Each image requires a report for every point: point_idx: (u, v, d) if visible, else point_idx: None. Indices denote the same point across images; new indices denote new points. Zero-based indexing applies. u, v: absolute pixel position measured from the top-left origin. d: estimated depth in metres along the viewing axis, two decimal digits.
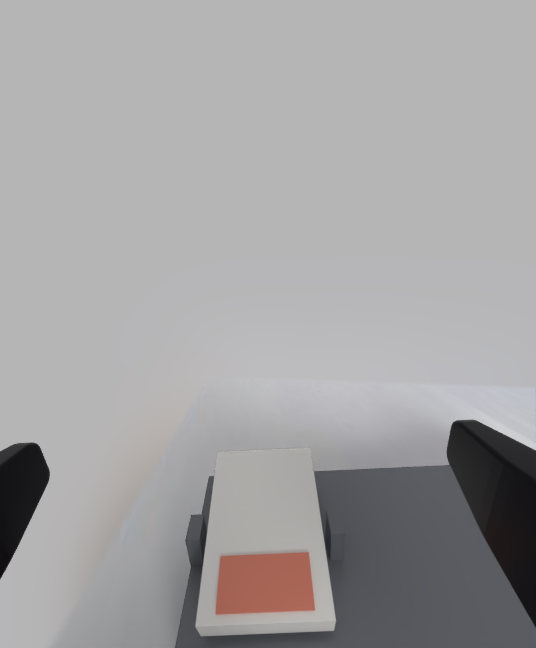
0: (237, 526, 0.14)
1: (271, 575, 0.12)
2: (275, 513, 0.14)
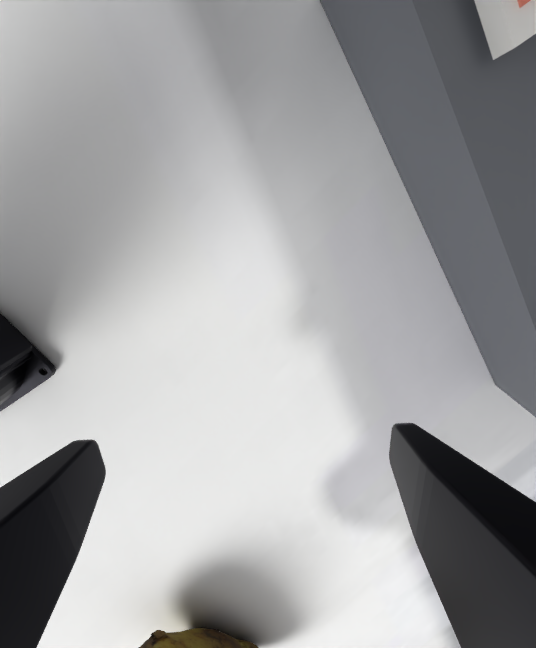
0: None
1: None
2: None
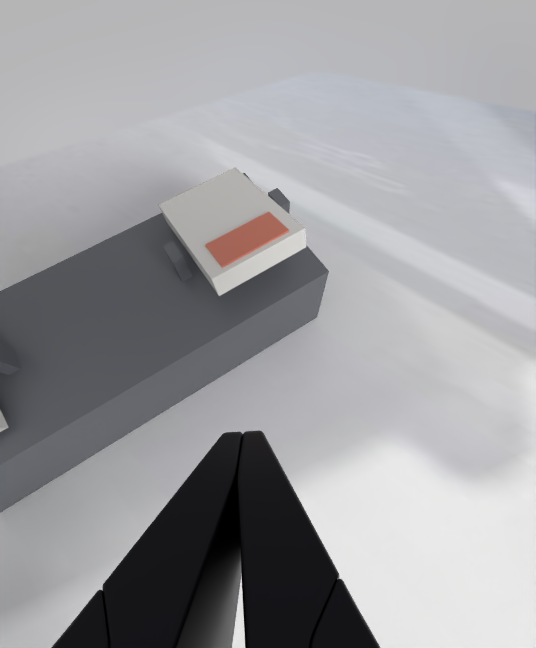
0: None
1: None
2: None
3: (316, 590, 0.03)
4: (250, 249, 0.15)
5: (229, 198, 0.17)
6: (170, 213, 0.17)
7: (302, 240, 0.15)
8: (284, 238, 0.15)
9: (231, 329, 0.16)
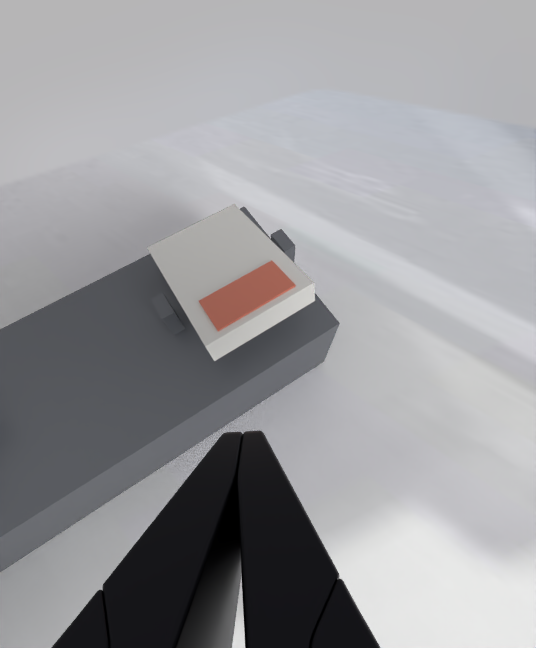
0: None
1: None
2: None
3: (316, 590, 0.03)
4: (250, 308, 0.12)
5: (227, 242, 0.15)
6: (160, 259, 0.15)
7: (310, 295, 0.13)
8: (290, 295, 0.13)
9: (228, 393, 0.14)
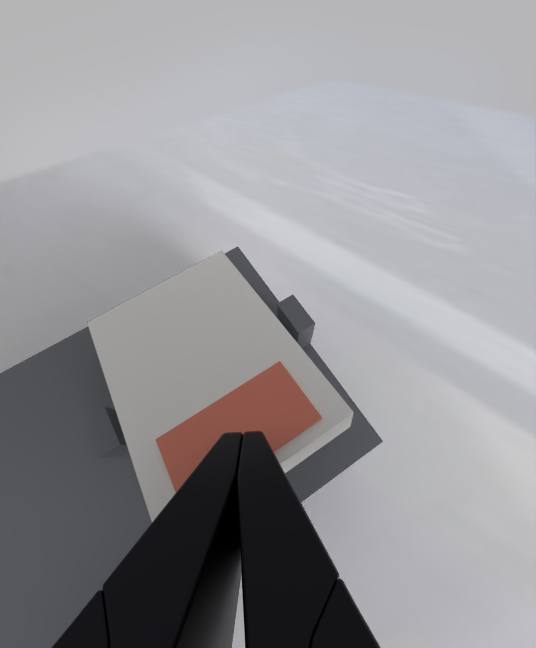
0: None
1: None
2: None
3: (316, 590, 0.03)
4: None
5: (208, 319, 0.10)
6: (104, 345, 0.10)
7: (345, 425, 0.08)
8: (313, 438, 0.07)
9: None
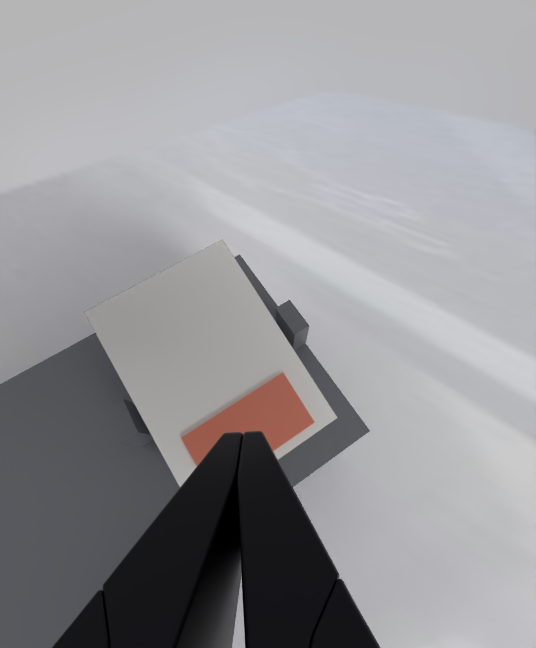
0: None
1: None
2: None
3: (316, 590, 0.03)
4: None
5: (215, 322, 0.10)
6: (111, 341, 0.10)
7: None
8: (306, 437, 0.10)
9: None
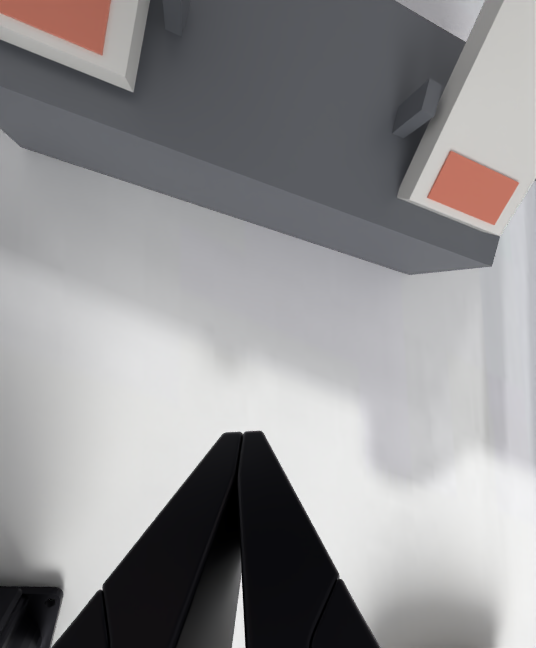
0: None
1: None
2: None
3: (316, 590, 0.03)
4: (458, 207, 0.13)
5: None
6: (495, 33, 0.11)
7: (486, 232, 0.15)
8: (481, 227, 0.14)
9: (384, 227, 0.14)
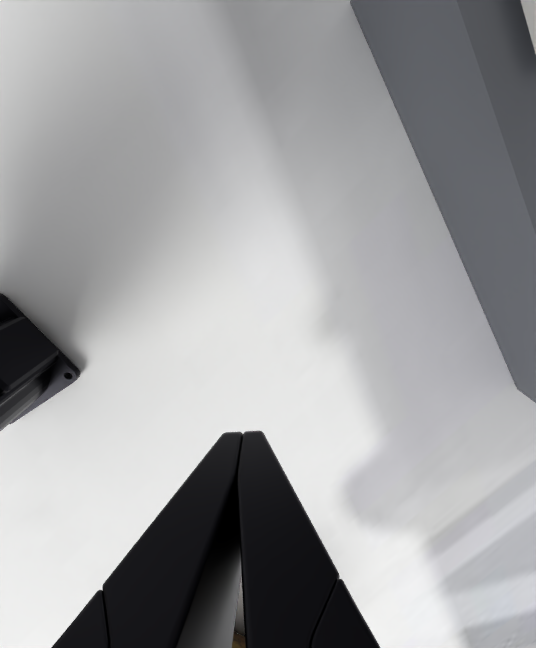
0: None
1: None
2: None
3: (316, 590, 0.03)
4: None
5: None
6: None
7: None
8: None
9: None
